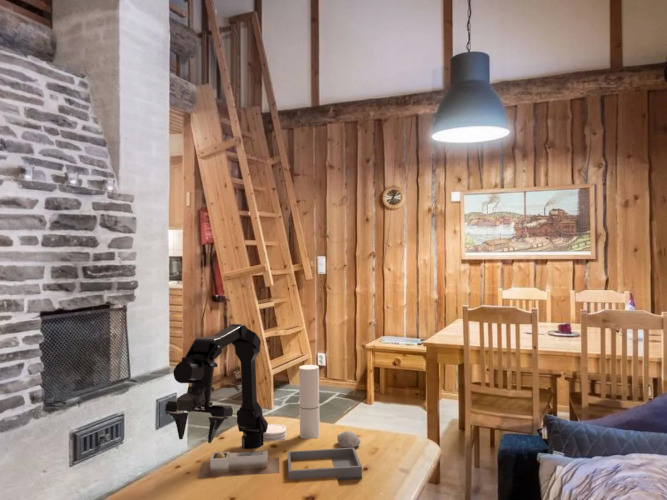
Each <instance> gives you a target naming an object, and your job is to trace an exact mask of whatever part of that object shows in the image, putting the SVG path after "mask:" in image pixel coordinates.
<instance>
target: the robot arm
mask: <svg viewBox="0 0 667 500" xmlns="http://www.w3.org/2000/svg"><path fill="white" fill-rule="evenodd" d="M261 343H262V342H261V338H260V336H258V334H257V333H256V332H254V331H253V330H251V329H249V328H248V327H247V326H246V325H245V324H241V323H232V324H230V325H228V326H227V327H226V328H224V329H222V330H220V331H218V332H217V333H215V334H213V335H209V336H202V337H197V338H195V339H194V341H193V342H192V344H191V346H190V348H189V350H187V353H186V355H185V357H184V356H183V357H182V358H181V361H179V363H177V364H176V366H175V367H174V369H173V378H174V380H175V381H176V382H177V383H180V384H191V385H189V386H188V387H187V390H186V392H185V393H183V394H181V395H180V396H179V397H177V398H175V399H176V400H168V401H167V402H166V404H165V407H164V412H168V415H169V416H171V417H172V418H173V420H174V422H175V426H176V430H177V433H178V434H177V435H178V439H179V440H183V439H184V436H185V432H186V426H187V422H188V417H189V413H191V412H197V413H203V414H205V413H206V414H210V417H209V416H208V420H209V429H208V437H207V443H208V444H211V443H212V442H213V440H214V438H215V437H216V435H217V432H218V431H219V429H220V427H221V426H222V424H223V423H224V422H225V420H228V418H229V417H233V413H234V412H233V411H234V410H233V406H232V405H230V404H229V405H228V404H213V401H211V397H212V392H214V391H215V387H214V386H213V380H214V379H213V378H214V372H215V368H217V367H218V363H217V362H216V361H215V360H216V359H218V358H219V356H220V355H221V354H222V353H223V349H224V348H225V347H227V346H228V345H230V344H232V345H233V347H234V352H235V356H236V357H237V358H238V360H239V361H240V378H241V381H240V382H241V405H240V407H239V409H238V410H237V411H236V423H237V427H238V428H237V429H238V432H239V433H241V432H242V436H241V448H243V449H244V450H248V449H250V450H254V449H255V450H256V449H259V448H261V447H262V446H264V443H265V441H264V437H263V433H265V432H266V430H267V428H268V425H269V423H268V422H267V420H266V418H265V417H264V415H263V409H262V408H263V407H261V405H260V404H259V403H258V398H257V397H258V396H257V372H256V371H257V370H256V359H257V357H258V355H260V352H261V350H260V349H261Z"/></svg>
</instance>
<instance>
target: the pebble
mask: <svg viewBox="0 0 667 500" xmlns="http://www.w3.org/2000/svg"><path fill="white" fill-rule="evenodd" d="M336 435H337V445H338V446H339V447H341V448H356V447H358V446H359V445H360V444H361V439H360V438H359V436H358V435H357V434H356V433H355V432H353V431H352V430H345V431H343V432H341V433H339V434H338V433H337V434H336Z"/></svg>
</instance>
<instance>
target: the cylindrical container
mask: <svg viewBox="0 0 667 500" xmlns="http://www.w3.org/2000/svg"><path fill="white" fill-rule="evenodd" d="M298 379H299V380H298V381H299V385H298V387H299V388H298V389H299V391H298V393H299V437H300V438H301V439H303V440H312V439H313V440H314V439H317V438H319V437H320V432H321V431H320V430H321V429H320V423H321V422H320V366H319V365H316V364H304V365H300V366H299V367H298Z"/></svg>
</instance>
